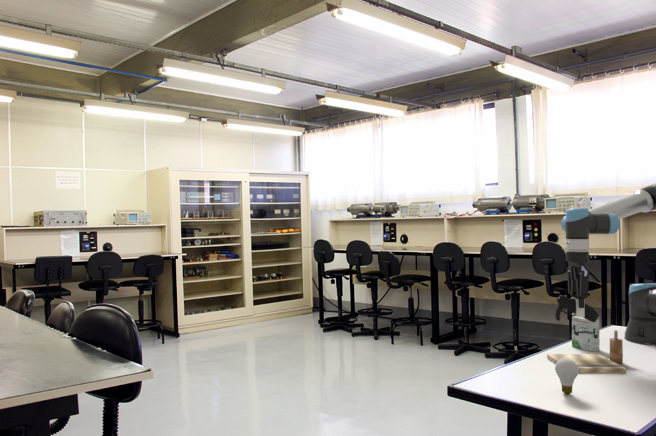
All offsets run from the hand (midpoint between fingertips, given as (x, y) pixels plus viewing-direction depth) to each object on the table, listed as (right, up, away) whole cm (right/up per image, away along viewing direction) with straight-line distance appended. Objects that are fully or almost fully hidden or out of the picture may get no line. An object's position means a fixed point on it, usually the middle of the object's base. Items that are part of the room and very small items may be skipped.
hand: (578, 315), depth 180 cm
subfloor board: (-4, -14, -13) cm, 20 cm away
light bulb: (-24, -14, -41) cm, 49 cm away
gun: (0, -2, 0) cm, 2 cm away
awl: (+8, -14, -10) cm, 19 cm away
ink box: (+8, -15, +10) cm, 19 cm away
